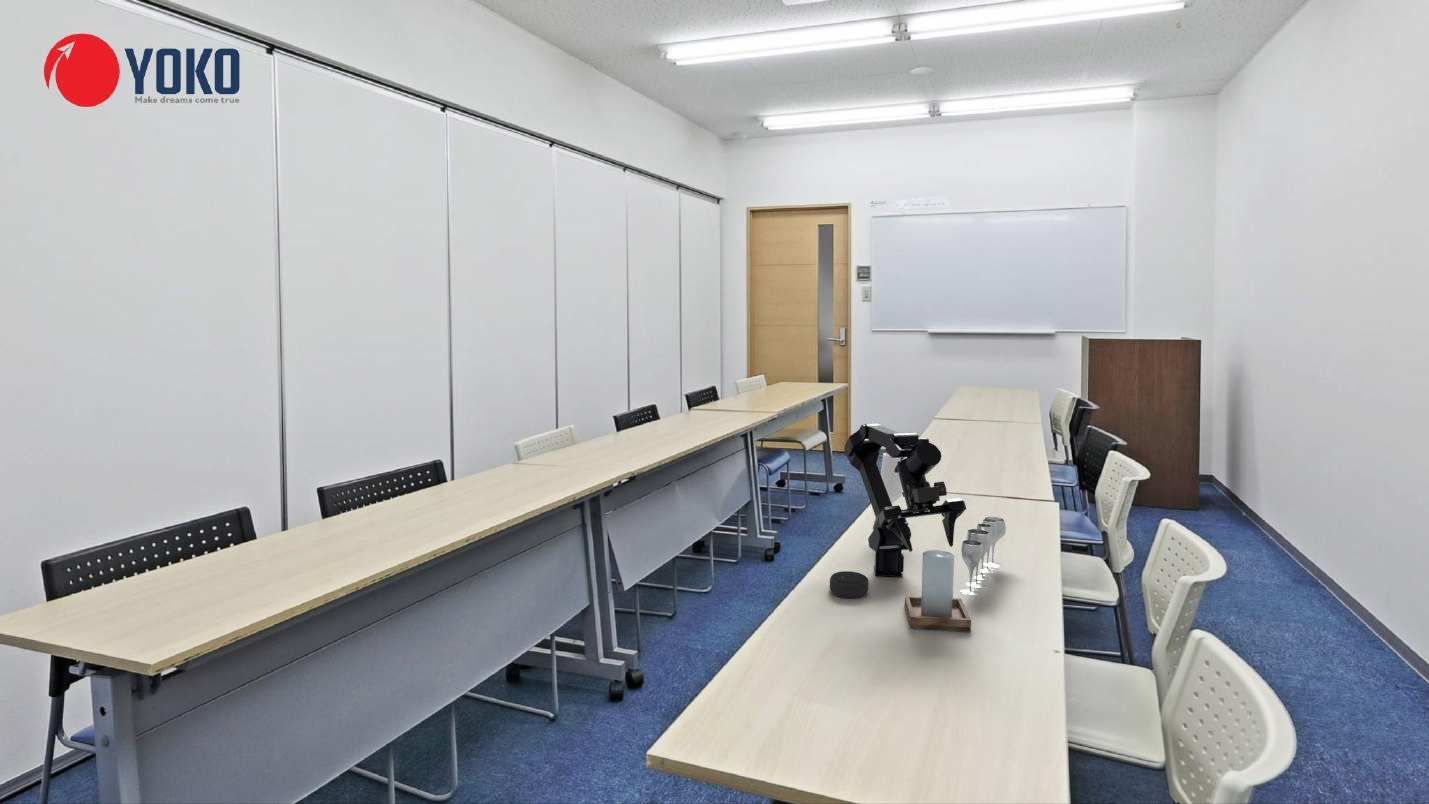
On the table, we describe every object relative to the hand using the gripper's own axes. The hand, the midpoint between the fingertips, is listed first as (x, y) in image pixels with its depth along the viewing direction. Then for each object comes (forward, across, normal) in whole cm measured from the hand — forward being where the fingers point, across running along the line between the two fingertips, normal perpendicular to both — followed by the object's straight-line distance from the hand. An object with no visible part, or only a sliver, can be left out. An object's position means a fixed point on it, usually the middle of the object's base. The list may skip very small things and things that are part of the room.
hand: (931, 548), depth 171 cm
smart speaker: (+4, -17, +14) cm, 23 cm away
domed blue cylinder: (+14, -2, 0) cm, 14 cm away
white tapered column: (-18, +6, +50) cm, 54 cm away
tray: (+15, -3, +1) cm, 15 cm away
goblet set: (+3, +18, +22) cm, 28 cm away
